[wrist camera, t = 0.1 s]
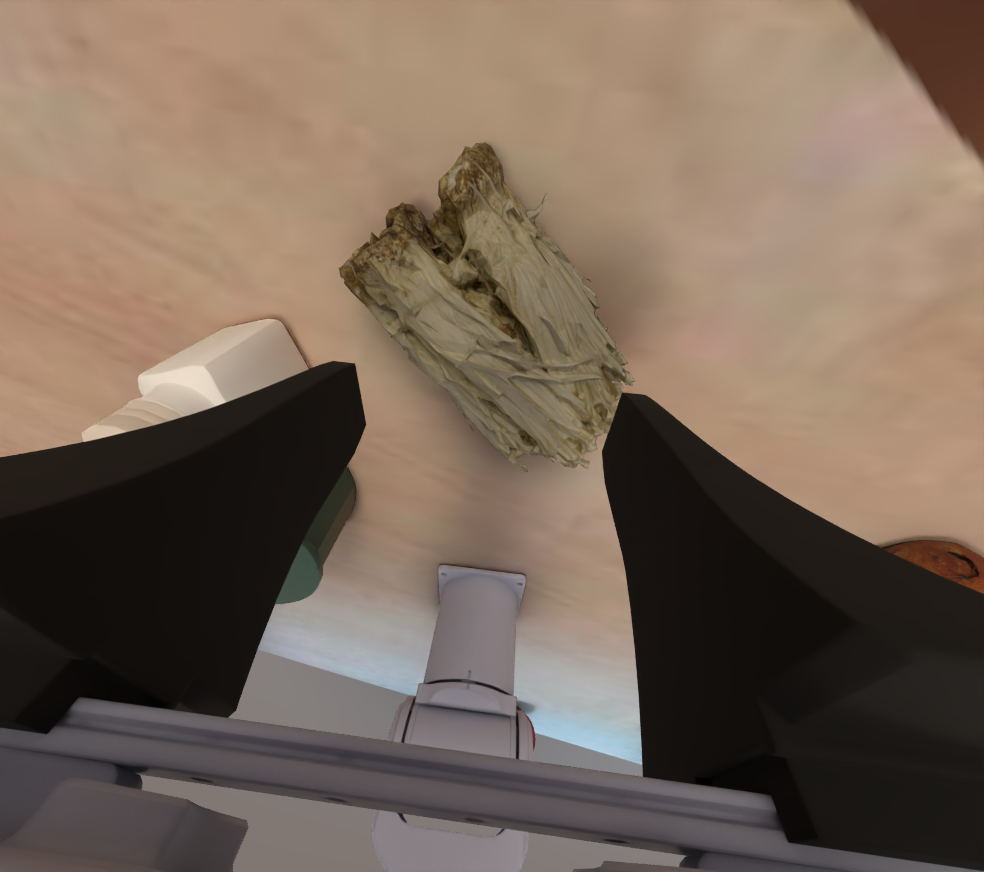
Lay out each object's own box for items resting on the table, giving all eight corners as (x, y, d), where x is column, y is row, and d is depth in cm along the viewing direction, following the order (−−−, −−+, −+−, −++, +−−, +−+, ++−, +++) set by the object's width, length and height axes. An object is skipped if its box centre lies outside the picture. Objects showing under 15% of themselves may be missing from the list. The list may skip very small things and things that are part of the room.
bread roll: (813, 574, 34) (882, 671, 30) (799, 573, 28) (886, 699, 23) (949, 532, 30) (1056, 642, 25) (974, 518, 23) (1126, 665, 18)
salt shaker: (282, 312, 20) (126, 409, 12) (318, 377, 22) (206, 492, 14) (221, 325, 20) (40, 423, 13) (263, 387, 23) (130, 500, 15)
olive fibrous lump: (342, 277, 18) (283, 313, 14) (488, 112, 14) (466, 92, 10) (516, 456, 24) (512, 519, 20) (654, 380, 20) (687, 440, 16)
